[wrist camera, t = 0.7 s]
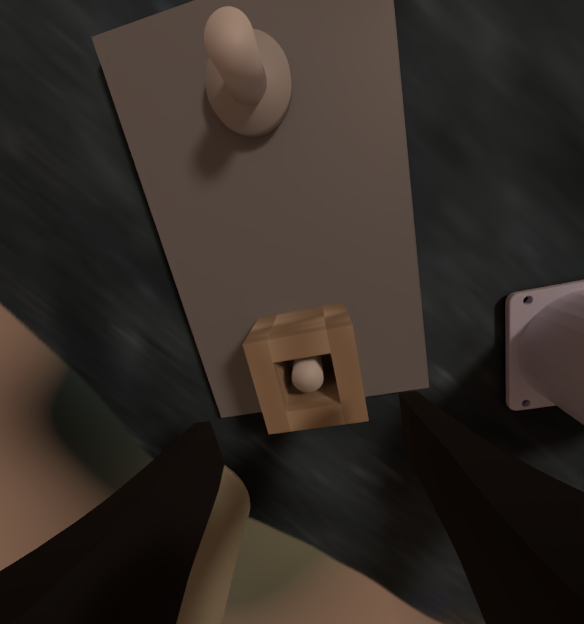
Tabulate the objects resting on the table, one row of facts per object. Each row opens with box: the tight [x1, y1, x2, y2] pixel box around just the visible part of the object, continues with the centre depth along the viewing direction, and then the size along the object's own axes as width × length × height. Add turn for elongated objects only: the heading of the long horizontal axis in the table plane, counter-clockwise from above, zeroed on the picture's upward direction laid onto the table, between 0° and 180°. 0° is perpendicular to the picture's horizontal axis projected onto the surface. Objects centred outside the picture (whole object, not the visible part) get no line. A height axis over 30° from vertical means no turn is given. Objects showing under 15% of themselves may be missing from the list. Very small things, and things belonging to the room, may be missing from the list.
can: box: [176, 465, 250, 624], centre depth 17 cm, size 9×9×12 cm
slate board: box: [92, 0, 429, 418], centre depth 14 cm, size 14×22×5 cm, turn 12°
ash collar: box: [242, 302, 369, 434], centre depth 15 cm, size 5×5×4 cm
